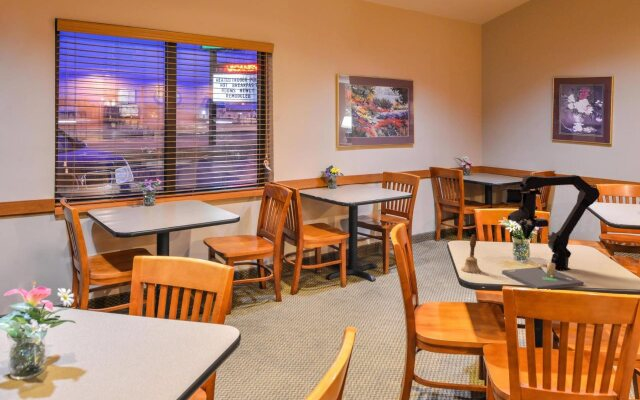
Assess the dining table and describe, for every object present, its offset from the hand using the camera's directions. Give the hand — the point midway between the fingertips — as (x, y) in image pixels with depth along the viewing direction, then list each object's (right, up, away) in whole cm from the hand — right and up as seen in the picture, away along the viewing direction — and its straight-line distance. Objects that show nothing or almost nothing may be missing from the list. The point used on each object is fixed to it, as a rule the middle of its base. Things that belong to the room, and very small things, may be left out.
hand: (526, 238), depth 226 cm
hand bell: (-26, -14, -3) cm, 29 cm away
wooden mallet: (+4, -13, -11) cm, 18 cm away
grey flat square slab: (0, -16, -15) cm, 22 cm away
